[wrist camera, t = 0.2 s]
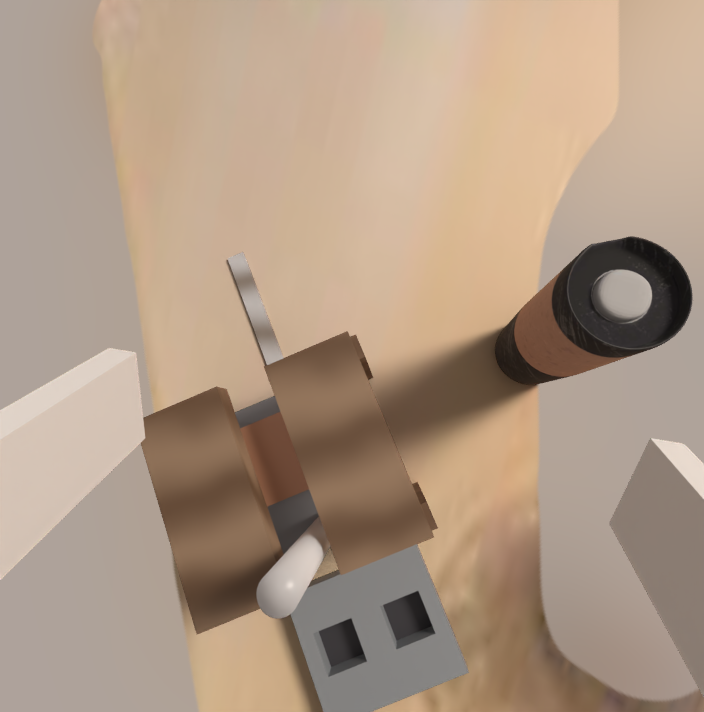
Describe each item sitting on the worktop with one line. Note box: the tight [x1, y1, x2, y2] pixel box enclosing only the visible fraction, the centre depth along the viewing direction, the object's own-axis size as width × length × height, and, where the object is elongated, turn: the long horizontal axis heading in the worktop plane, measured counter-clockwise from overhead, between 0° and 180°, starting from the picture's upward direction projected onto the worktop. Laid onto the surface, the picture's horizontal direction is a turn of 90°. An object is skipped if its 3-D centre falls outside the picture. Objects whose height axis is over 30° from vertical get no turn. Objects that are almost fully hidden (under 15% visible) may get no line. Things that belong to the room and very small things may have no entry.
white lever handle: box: [235, 396, 330, 618], centre depth 35 cm, size 16×12×21 cm
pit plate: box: [290, 544, 469, 712], centre depth 42 cm, size 12×14×2 cm
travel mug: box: [495, 237, 692, 384], centre depth 36 cm, size 8×8×20 cm
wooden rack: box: [141, 252, 438, 634], centre depth 40 cm, size 36×19×15 cm, turn 22°
